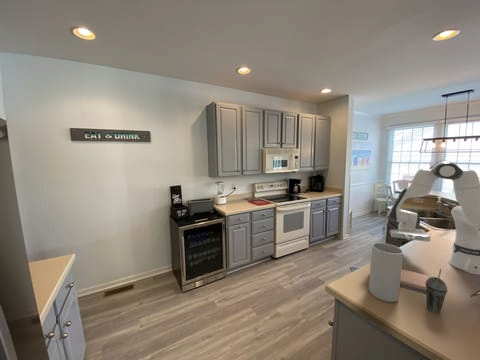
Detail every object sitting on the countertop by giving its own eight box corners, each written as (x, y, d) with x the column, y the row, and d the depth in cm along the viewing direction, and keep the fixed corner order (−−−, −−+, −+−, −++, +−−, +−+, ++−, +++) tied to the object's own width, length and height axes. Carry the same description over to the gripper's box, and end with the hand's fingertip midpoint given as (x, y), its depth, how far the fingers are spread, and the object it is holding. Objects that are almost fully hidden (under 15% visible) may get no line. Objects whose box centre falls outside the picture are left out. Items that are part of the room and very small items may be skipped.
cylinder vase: (363, 286, 108) (366, 242, 105) (386, 286, 108) (390, 242, 105) (378, 302, 96) (383, 253, 93) (404, 303, 95) (410, 254, 92)
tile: (428, 275, 114) (435, 289, 102) (427, 278, 114) (434, 293, 102) (395, 267, 122) (398, 279, 110) (395, 270, 123) (397, 283, 110)
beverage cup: (418, 304, 95) (422, 265, 92) (432, 303, 95) (437, 264, 93) (434, 316, 87) (439, 274, 85) (449, 315, 88) (455, 273, 86)
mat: (431, 281, 113) (431, 280, 113) (439, 297, 99) (440, 296, 99) (392, 271, 122) (392, 270, 122) (394, 284, 109) (394, 284, 109)
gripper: (389, 226, 145) (391, 232, 133) (427, 230, 134) (432, 237, 122) (389, 234, 145) (390, 241, 134) (426, 239, 134) (432, 247, 123)
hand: (411, 239), depth 128 cm, fingers closed
